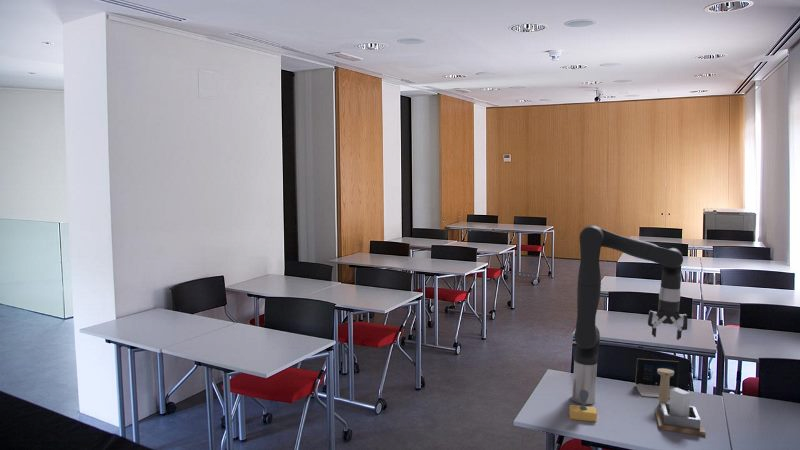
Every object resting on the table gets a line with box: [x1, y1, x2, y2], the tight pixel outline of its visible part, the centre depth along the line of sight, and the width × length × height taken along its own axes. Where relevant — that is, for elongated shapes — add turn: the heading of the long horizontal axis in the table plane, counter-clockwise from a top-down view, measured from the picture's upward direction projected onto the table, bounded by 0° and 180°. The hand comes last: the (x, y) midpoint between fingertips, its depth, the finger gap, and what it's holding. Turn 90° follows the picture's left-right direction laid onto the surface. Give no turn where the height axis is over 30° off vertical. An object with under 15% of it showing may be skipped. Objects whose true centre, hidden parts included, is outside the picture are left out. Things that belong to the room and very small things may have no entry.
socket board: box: [654, 402, 707, 437], centre depth 226 cm, size 16×15×6 cm
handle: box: [657, 368, 674, 406], centre depth 243 cm, size 5×6×15 cm
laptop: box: [634, 358, 680, 399], centre depth 256 cm, size 18×12×13 cm
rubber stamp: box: [568, 389, 598, 422], centre depth 230 cm, size 10×6×12 cm, turn 78°
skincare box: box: [669, 387, 691, 417], centre depth 226 cm, size 6×4×12 cm
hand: (666, 337), depth 232 cm, fingers open, 8 cm apart
